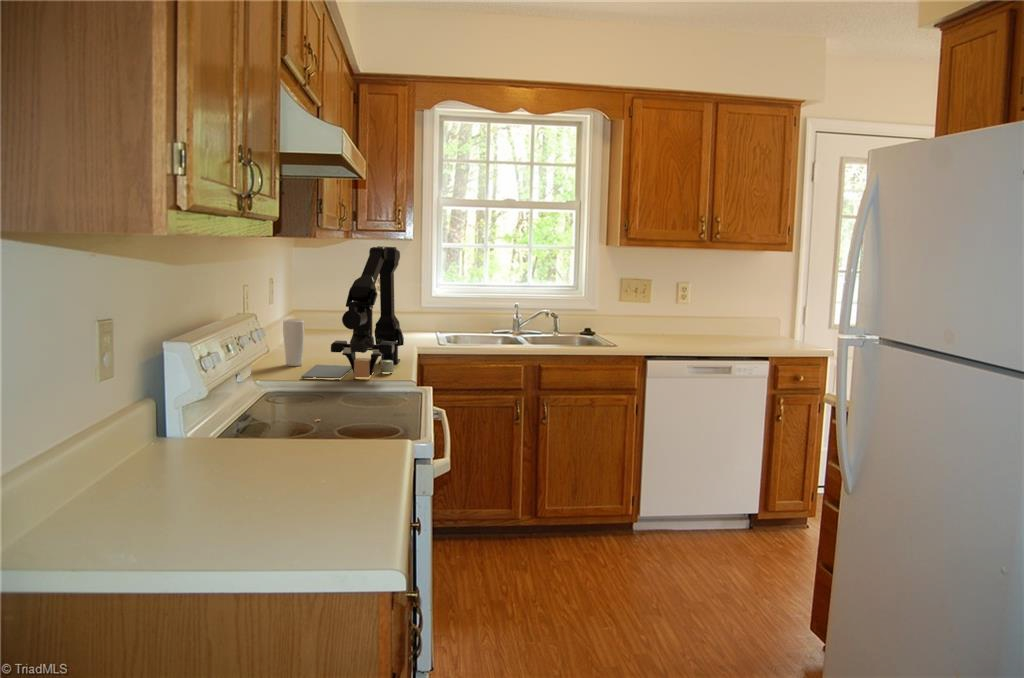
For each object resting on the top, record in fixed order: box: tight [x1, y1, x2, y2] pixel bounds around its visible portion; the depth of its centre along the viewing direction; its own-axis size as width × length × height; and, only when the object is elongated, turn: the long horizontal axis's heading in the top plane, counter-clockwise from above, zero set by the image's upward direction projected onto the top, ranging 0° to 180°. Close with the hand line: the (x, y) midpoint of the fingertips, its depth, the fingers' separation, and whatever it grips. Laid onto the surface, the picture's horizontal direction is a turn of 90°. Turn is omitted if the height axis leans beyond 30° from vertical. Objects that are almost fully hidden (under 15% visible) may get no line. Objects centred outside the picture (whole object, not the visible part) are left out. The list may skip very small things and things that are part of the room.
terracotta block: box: [353, 357, 371, 378], centre depth 245 cm, size 4×4×6 cm
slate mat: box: [300, 364, 353, 378], centre depth 250 cm, size 18×12×1 cm, turn 0°
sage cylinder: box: [380, 360, 394, 373], centre depth 254 cm, size 4×4×4 cm
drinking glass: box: [282, 318, 305, 367], centre depth 261 cm, size 7×7×15 cm
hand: (362, 374), depth 245 cm, fingers closed on terracotta block, 4 cm apart
